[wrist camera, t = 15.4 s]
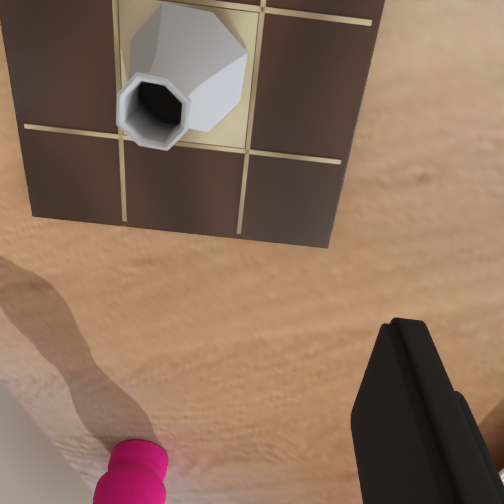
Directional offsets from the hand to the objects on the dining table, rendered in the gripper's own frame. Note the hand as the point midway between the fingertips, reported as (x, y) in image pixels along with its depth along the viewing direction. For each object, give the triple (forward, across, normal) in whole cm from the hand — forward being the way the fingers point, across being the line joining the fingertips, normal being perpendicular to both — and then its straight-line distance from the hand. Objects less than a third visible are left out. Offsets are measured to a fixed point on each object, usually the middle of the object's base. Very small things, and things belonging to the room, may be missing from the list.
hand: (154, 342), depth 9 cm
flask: (+22, +3, -1) cm, 23 cm away
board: (+24, +3, -1) cm, 24 cm away
